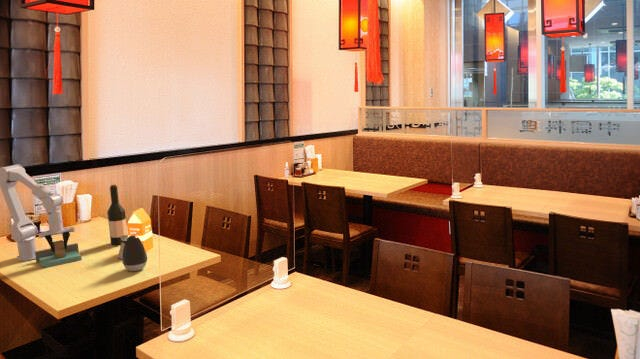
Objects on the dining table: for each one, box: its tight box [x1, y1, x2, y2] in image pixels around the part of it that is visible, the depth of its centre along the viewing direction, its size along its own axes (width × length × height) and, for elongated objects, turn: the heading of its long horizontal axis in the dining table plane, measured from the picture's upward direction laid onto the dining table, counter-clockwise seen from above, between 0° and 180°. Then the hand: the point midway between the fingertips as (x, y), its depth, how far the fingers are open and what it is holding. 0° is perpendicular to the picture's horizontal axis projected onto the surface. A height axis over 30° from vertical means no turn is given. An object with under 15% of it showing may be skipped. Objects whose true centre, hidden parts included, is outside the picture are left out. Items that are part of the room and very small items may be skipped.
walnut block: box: [53, 239, 66, 258], centre depth 234 cm, size 4×4×7 cm
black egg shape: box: [121, 235, 148, 272], centre depth 220 cm, size 10×10×15 cm
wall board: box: [35, 243, 83, 269], centre depth 235 cm, size 12×18×5 cm, turn 127°
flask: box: [117, 235, 128, 260], centre depth 237 cm, size 7×7×10 cm
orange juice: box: [126, 207, 154, 253], centre depth 245 cm, size 8×9×20 cm
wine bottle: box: [106, 184, 128, 247], centre depth 256 cm, size 8×8×30 cm
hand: (59, 249), depth 234 cm, fingers open, 5 cm apart
